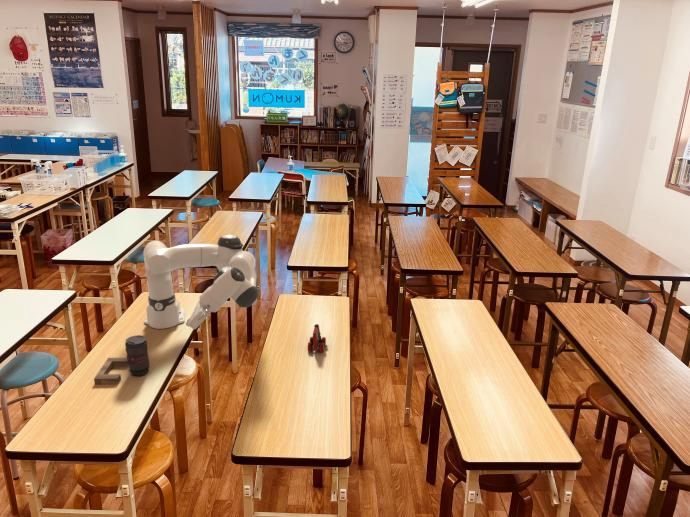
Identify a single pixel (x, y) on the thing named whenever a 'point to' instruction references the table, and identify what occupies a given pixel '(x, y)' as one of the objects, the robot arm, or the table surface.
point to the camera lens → (137, 355)
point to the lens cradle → (103, 373)
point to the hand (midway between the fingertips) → (187, 324)
